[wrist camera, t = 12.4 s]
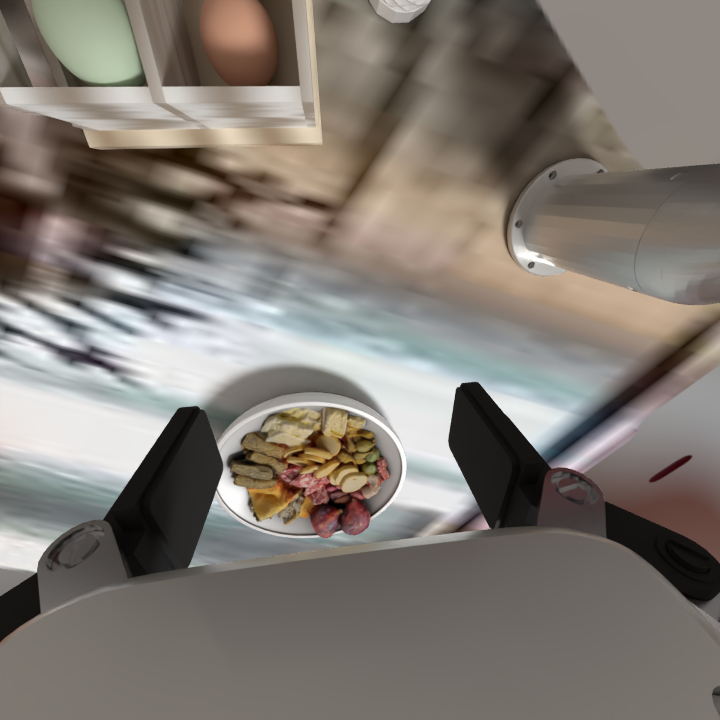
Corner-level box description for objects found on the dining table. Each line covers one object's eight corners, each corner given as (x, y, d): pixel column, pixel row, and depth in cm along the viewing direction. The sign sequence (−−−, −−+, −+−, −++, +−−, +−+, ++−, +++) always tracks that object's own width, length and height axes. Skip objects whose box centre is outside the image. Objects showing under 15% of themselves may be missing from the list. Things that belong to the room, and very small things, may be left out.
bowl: (176, 450, 47) (151, 494, 40) (327, 343, 41) (328, 373, 34) (302, 532, 61) (299, 575, 54) (430, 460, 55) (445, 498, 48)
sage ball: (106, -72, 17) (170, 49, 19) (119, 17, 21) (169, 106, 23) (-21, -79, 14) (67, 59, 16) (25, 22, 19) (89, 120, 21)
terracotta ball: (276, 11, 24) (265, -35, 20) (286, 100, 27) (279, 79, 22) (205, 9, 24) (175, -38, 19) (222, 100, 27) (200, 79, 22)
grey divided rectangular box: (309, -36, 24) (301, -173, 15) (322, 145, 30) (322, 123, 21) (29, -44, 23) (-168, -204, 14) (100, 149, 29) (-5, 128, 19)
